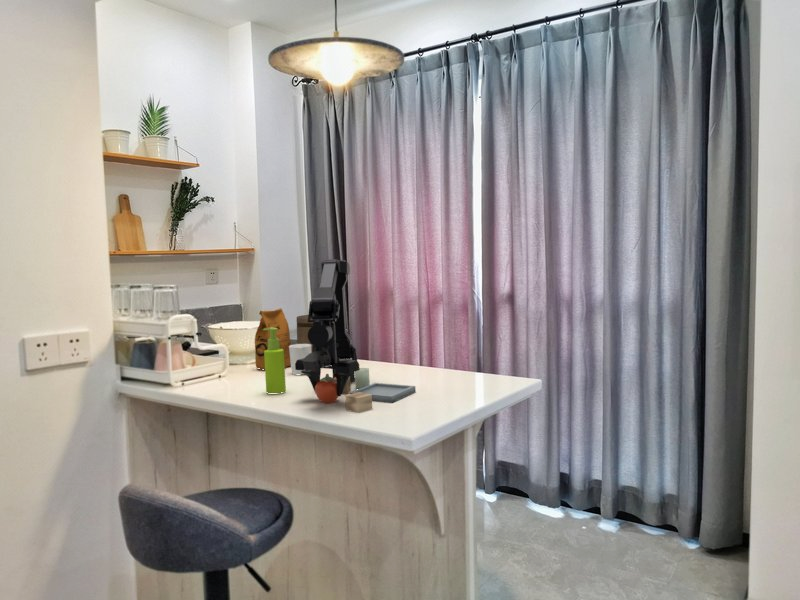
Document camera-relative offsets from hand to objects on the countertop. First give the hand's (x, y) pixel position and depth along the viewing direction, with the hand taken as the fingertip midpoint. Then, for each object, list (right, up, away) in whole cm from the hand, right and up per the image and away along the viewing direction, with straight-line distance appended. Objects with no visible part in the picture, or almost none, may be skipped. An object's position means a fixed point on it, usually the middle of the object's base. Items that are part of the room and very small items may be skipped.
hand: (328, 395), depth 180 cm
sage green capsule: (+9, 0, +16) cm, 18 cm away
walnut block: (+3, -1, +11) cm, 12 cm away
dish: (+16, -1, +5) cm, 16 cm away
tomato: (0, -2, 0) cm, 2 cm away
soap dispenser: (-18, -2, +15) cm, 23 cm away
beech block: (+9, -2, -10) cm, 14 cm away
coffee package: (-27, +1, +56) cm, 62 cm away
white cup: (-14, +1, +44) cm, 46 cm away
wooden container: (-12, +3, +65) cm, 66 cm away
